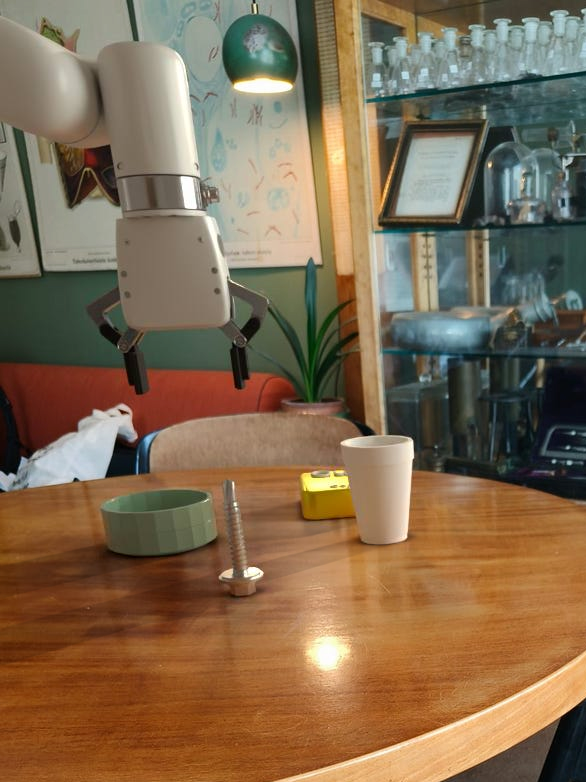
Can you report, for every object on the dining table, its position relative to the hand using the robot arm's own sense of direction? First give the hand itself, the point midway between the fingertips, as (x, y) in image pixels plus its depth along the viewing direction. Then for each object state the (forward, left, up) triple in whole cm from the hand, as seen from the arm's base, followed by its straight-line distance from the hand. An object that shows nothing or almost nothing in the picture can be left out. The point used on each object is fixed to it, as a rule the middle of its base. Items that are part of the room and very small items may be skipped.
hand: (192, 390), depth 89 cm
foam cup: (+18, +23, -23) cm, 37 cm away
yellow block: (+13, +43, -23) cm, 50 cm away
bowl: (-12, +27, -23) cm, 37 cm away
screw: (+2, +3, -23) cm, 23 cm away
